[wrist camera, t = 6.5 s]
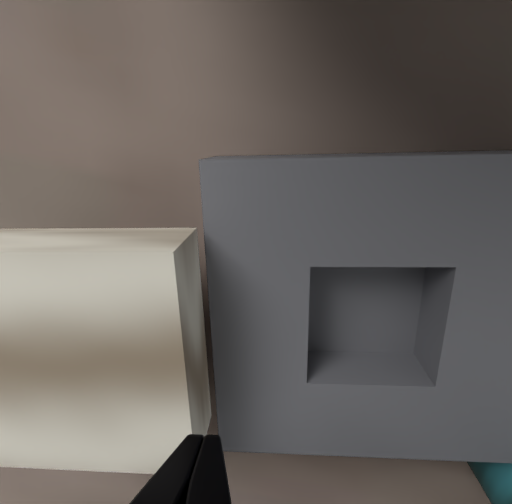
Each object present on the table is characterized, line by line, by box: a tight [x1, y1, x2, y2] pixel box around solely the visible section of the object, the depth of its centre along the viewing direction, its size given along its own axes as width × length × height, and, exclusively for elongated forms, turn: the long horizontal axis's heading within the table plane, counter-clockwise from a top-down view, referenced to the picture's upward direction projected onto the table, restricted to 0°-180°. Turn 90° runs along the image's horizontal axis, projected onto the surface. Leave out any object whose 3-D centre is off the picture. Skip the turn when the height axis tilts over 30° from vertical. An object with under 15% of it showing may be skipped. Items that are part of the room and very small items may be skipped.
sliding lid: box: [0, 228, 211, 474], centre depth 13 cm, size 9×9×3 cm
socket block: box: [199, 150, 512, 463], centre depth 16 cm, size 14×14×4 cm
